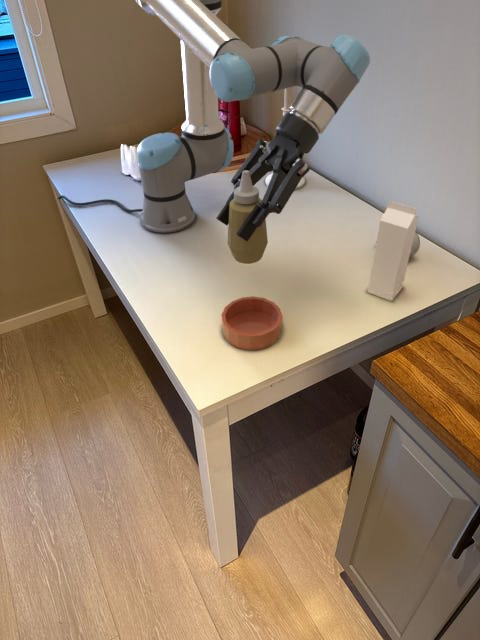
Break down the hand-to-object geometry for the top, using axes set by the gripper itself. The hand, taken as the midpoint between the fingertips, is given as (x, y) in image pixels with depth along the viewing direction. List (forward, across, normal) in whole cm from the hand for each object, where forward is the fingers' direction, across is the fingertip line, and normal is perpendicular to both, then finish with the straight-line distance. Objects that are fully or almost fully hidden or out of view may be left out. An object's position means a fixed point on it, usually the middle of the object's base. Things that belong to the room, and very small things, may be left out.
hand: (231, 229), depth 92 cm
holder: (+15, -5, -17) cm, 23 cm away
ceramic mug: (-17, -1, -49) cm, 52 cm away
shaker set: (+8, +82, -24) cm, 86 cm away
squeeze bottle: (+3, 0, -8) cm, 8 cm away
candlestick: (-19, +49, -51) cm, 73 cm away
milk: (-8, -11, -40) cm, 43 cm away
